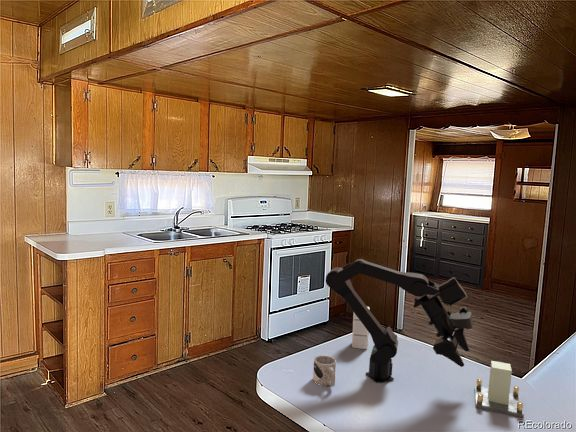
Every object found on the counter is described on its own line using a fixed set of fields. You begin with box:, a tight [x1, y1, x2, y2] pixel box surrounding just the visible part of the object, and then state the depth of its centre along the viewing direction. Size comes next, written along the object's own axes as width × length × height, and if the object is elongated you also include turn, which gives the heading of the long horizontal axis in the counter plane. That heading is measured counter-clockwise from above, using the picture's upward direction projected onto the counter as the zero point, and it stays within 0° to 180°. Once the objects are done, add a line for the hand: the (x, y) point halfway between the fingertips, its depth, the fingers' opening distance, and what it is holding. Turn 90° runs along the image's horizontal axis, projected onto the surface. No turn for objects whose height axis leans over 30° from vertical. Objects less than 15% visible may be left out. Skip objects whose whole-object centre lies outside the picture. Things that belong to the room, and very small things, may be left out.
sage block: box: [487, 360, 513, 405], centre depth 128 cm, size 5×5×10 cm
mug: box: [312, 355, 337, 388], centre depth 135 cm, size 10×7×7 cm
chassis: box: [474, 378, 525, 419], centre depth 128 cm, size 12×12×3 cm
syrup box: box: [351, 305, 371, 350], centre depth 165 cm, size 6×6×14 cm
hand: (465, 358), depth 133 cm, fingers open, 9 cm apart
